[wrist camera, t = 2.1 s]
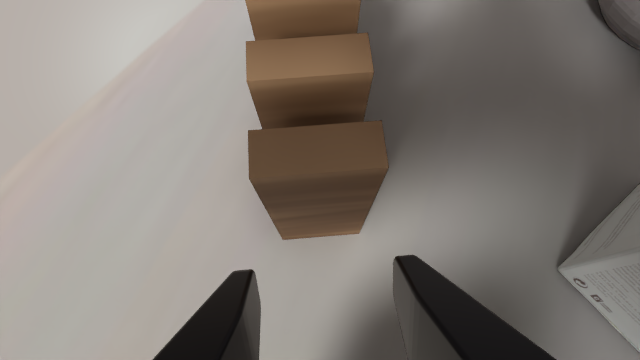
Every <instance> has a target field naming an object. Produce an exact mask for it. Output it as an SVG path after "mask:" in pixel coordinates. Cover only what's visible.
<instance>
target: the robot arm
mask: <svg viewBox="0 0 640 360" xmlns="http://www.w3.org/2000/svg"><path fill="white" fill-rule="evenodd" d="M393 295H394V301H395V305H396V309H397V314H398V318H399V322H400V327H401V331H402V335H403V340H404V344H405V349H406V353H407V357H408V360H556V359H555V358H554V357H552V356H551V355H550V354H548V353H547V352H546V351H544V350H543V349H541V348H540V347H539V346H537V345H536V344H535V343H533V342H532V341H531V340H529V339H528V338H527V337H525V336H524V335H523V334H521V333H520V332H518V331H517V330H516V329H514V328H513V327H512V326H510V325H509V324H508V323H506V322H505V321H504V320H502V319H501V318H499V317H498V316H497V315H495V314H494V313H493V312H491V311H490V310H489V309H487V308H486V307H485V306H483V305H482V304H481V303H479V302H478V301H476V300H475V299H474V298H472V297H471V296H470V295H468V294H467V293H466V292H464V291H463V290H462V289H460V288H459V287H457V286H456V285H455V284H453V283H452V282H451V281H449V280H448V279H447V278H445V277H444V276H443V275H441V274H440V273H439V272H437V271H436V270H434V269H433V268H432V267H430V266H429V265H428V264H426V263H425V262H424V261H422V260H421V259H420V258H418V257H417V256H415V255H405V256H396V257H395V259H394V262H393ZM260 318H261V304H260V297H259V292H258V286H257V280H256V275H255V272H254V271H253V270H251V269H249V270H238V271H234V272H232V273H231V274H230V275H229V276H228V277H227V279H226V280H225V281H224V282H223V283H222V284H221V285H220V286H219V287H218V288H217V290H216V291H215V292H214V293H213V294H212V295H211V296H210V297H209V298H208V299H207V300H206V302H205V303H204V304H203V305H202V306H201V307H200V308H199V309H198V310H197V311H196V313H195V314H194V315H193V316H192V317H191V318H190V319H189V320H188V321H187V322H186V324H185V325H184V326H183V327H182V328H181V329H180V330H179V331H178V332H177V333H176V334H175V336H174V337H173V338H172V339H171V340H170V341H169V342H168V343H167V344H166V345H165V347H164V348H163V349H162V350H161V351H160V352H159V353H158V354H157V355H156V356H155V357H154V359H153V360H259V345H260Z"/></svg>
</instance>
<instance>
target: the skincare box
mask: <svg viewBox="0 0 640 360" xmlns="http://www.w3.org/2000/svg"><path fill="white" fill-rule="evenodd" d="M558 271H559V272H560V273H561V274H562V275H563V276H564V277H565V278H566V279H567V280H568V281H569V282H570V283H571V284H572V285H573V286H574V287H575V288H576V289H577V290H578V291H579V292H580V293H581V294H582V295H583V296H584V297H585V298H586V299H587V300H588V301H589V302H590V303H591V304H592V305H593V306H594V307H595V308H596V309H597V310H598V311H599V312H600V313H601V314H602V315H603V316H604V317H605V318H606V319H607V320H608V322H609V323H610V324H611V325H612V326H613V327H614V328H615V329H616V330H617V331H619V332H620V334H621V335H623V336H624V337H625V338H626V340H627V341H628V342H629V343H631V344H632V345H633V347H634V348H635V349H636V350H637V351H638V352H639V353H640V184H639V185H638V186H637V187H636V188H635V189H634V190H633V191H632V192H631V193H630V194H629V195H628V196H627V197H626V198H625V199H624V200H623V201H622V202H621V203H620V204H619V205H618V206H617V207H616V208H615V209H614V210H613V211H612V212H611V213H610V214H609V215H608V216H607V217H606V218H605V219H604V220H603V221H602V222H601V223H600V224H599V225H598V226H597V227H596V228H595V229H594V230H593V231H592V232H591V233H590V234H589V236H588V237H587V238H586V239H585V240H584V241H583V242H582V243H581V245H580V246H579V247H578V248H577V249H576V250H575V252H574V253H573V254H572V255H571V256H570V257H569V258H567V259H566V260H565V261H564V262H563V263H562V264H561V265H560V266H559V267H558Z"/></svg>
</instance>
